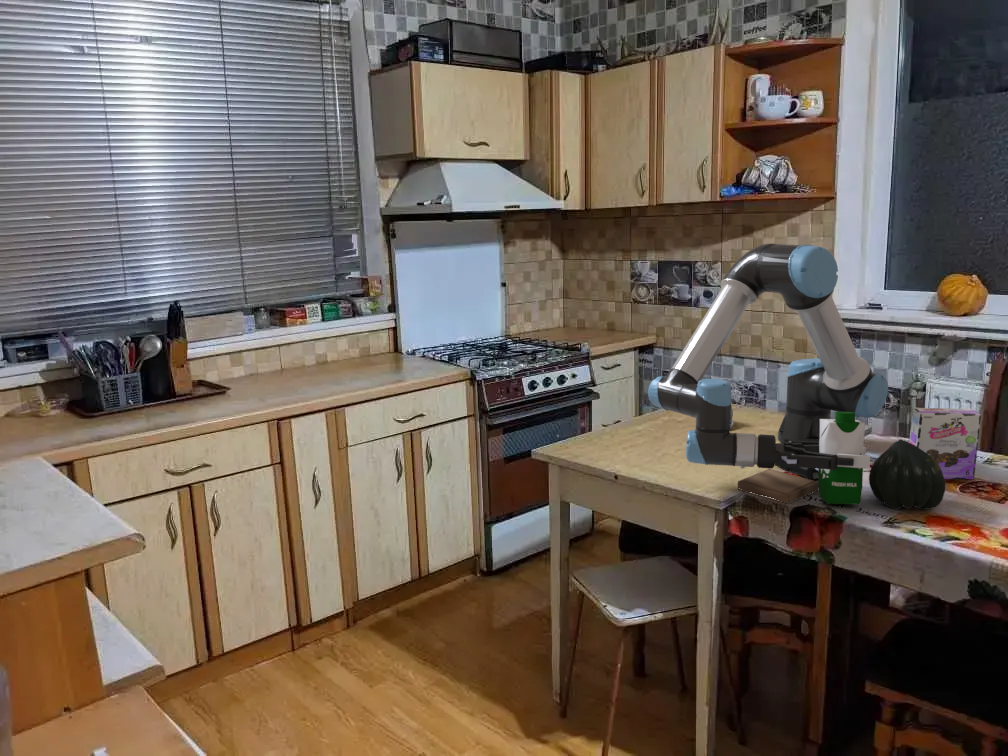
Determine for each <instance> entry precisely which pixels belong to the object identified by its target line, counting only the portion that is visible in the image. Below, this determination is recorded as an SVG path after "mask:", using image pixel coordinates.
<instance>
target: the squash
mask: <svg viewBox="0 0 1008 756" xmlns="http://www.w3.org/2000/svg"><path fill="white" fill-rule="evenodd" d="M869 470H870V471H869V474H868V483H869V486H870V489H871V491H872V493H873V495H874V497H875V498H876V500H878V501H879V502H880V503H881V504H884V505H886V506H888V507H889V508H892V509H895V510H897V509H898V510H900V509H902V508H905V509H910V508H912V507H913V506H914V507H915V508H918V509H920V510H932V509H935V508H936V507H937V506H939V505H940V503H941V502H942V501H943V499H944V495H945V493H946V481H945V480H946V479H944V476H943V473H942V471H941V468H940V466H939V464H938V463H937V462H936V460H935V459H934V458H932V457H931V456H930V455H929V454H927V453H926V452H924V451H923V450H921V449H920V448H918V447H916V446H915V445H913V444H911V443H909V441H906V440H903V438H902V439H900V438H899V439H898V440H896V441H895V442H894V443H892V444H891V445H890V446H889V447H888V448H887V449H886V450H885V451H883V452H882V454H880V455H879V456H878V457H877V458H876V459H875V460H874V462H873V464H872V466H871V467H870V469H869Z"/></svg>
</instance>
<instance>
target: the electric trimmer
mask: <svg viewBox="0 0 1008 756" xmlns="http://www.w3.org/2000/svg"><path fill="white" fill-rule="evenodd" d="M775 466H778V467H779V468H781V469H782V468H783V469H782V470H784V469H785V470H784V471H786V470H787V472H793V473H795V474H797V475H799V476H800V477H801V476H802V477H803V478H806V479H809V480H813V481H817V482H818V468H806V467H787V466H786V463H784V462H780V461H775Z"/></svg>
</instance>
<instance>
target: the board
mask: <svg viewBox="0 0 1008 756" xmlns="http://www.w3.org/2000/svg"><path fill="white" fill-rule="evenodd" d="M738 488H740V489H742V490H744V491H743V492H745V491H747V492H746V493H749V492H752V493H755V494H758V495H757V496H759V495H763V496H767V497H771V498H774V499H776V500H779V501H782V502H785V503H784V504H786V503H787V504H786V505H789V504H791V503H793V502H795V501H797V500H796V499H798V500H799V498H800V499H802V498H804V497H806V496H808V494H809V495H811V494H813V493H815V492H817V491H819V488H818V481H813V480H809V479H807V478H806V477H803V476H802V477H801V476H798V475H793V474H790V473H786V472H782V471H779V470H775V469H773V468H772V469H771V468H767V469H765V470H763V471H760V472H758V473H755V474H752V475H750V476H748V477H745V478H743V479H739V480H738V481H737V489H738ZM742 490H741V491H742ZM812 492H813V493H812ZM752 493H751V494H752ZM810 493H811V494H810ZM755 494H754V495H755ZM805 495H806V496H805ZM803 496H804V497H803ZM801 497H802V498H801ZM776 500H775V501H776ZM794 500H795V501H794ZM779 501H778V502H779ZM792 501H793V502H792ZM782 502H781V503H782ZM790 502H791V503H790ZM788 503H789V504H788Z"/></svg>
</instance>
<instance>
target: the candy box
mask: <svg viewBox="0 0 1008 756" xmlns="http://www.w3.org/2000/svg"><path fill="white" fill-rule="evenodd" d="M911 412H912V413H911V421H910V432H909V439H908V442H909V443H911V444H913V445H915V446H916V447H918V448H920V449H921V450H923V451H924V452H926V453H927V454H929V455H930V456H931V457H932V458H934V459H935V460H936V462H937V463H938V464H939V466H940V468H941V471H942V473H943V476H944V480H965V479H974V480H975V473H976V465H977V455H978V448H979V447H978V446H979V436H980V430H981V429H980V427H981V419H982V415H981V413H979V412H978V411H976V410H975V409H973V408H947V407H946V408H944V407H943V408H942V407H939V408H938V407H937V408H936V407H935V408H934V407H933V408H932V407H912V411H911Z"/></svg>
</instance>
